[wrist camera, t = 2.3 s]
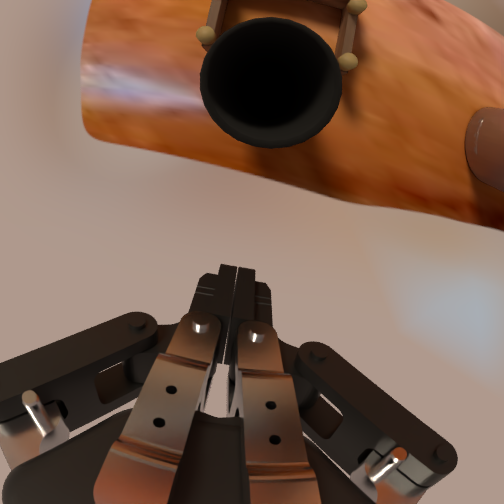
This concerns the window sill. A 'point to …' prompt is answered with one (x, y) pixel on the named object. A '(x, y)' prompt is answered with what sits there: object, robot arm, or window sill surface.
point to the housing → (350, 3)
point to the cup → (271, 82)
